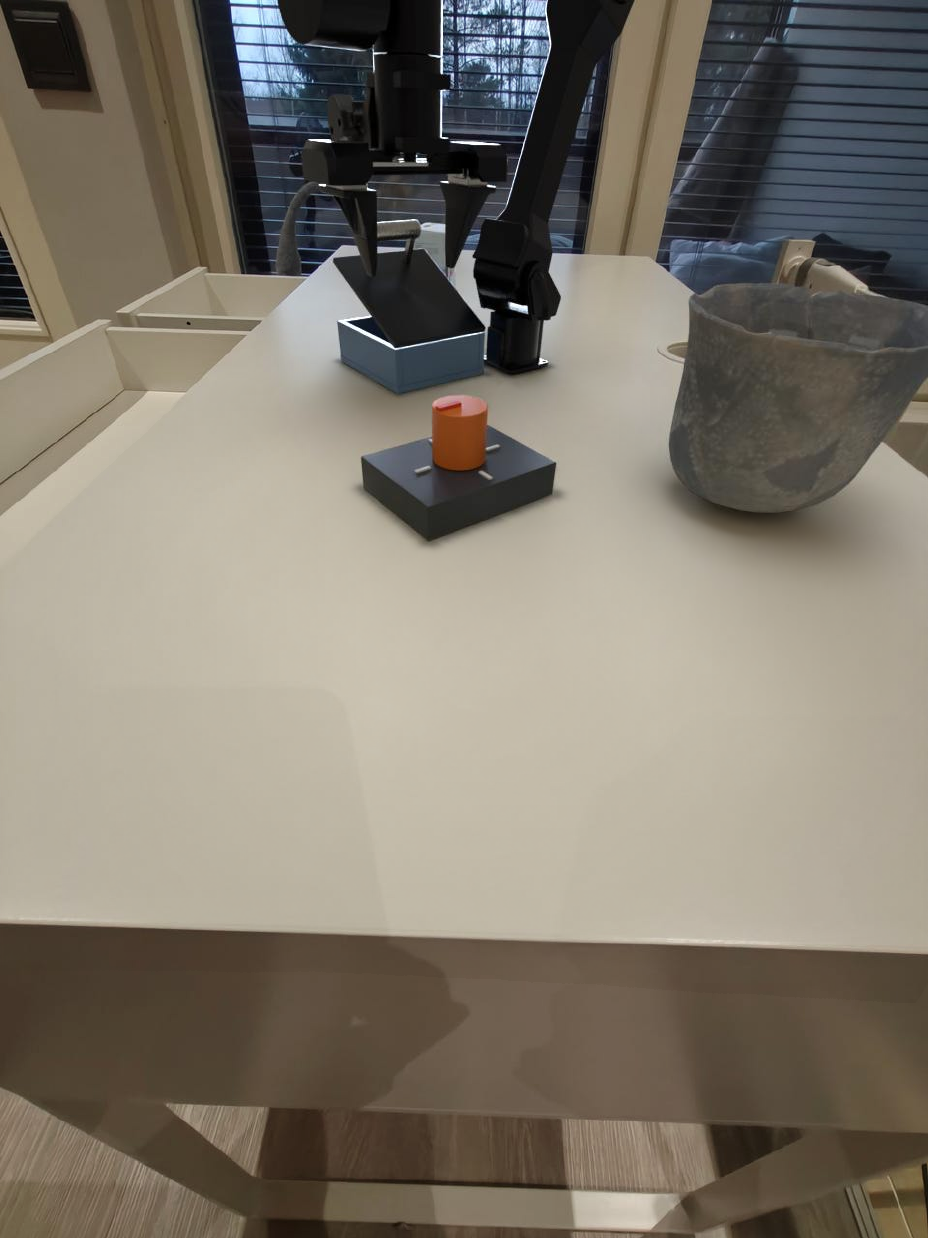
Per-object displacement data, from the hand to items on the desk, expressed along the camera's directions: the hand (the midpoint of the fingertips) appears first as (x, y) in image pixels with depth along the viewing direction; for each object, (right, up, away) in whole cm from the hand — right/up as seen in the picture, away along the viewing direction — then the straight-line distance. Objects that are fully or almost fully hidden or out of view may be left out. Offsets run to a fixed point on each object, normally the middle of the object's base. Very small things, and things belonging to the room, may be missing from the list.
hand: (412, 271), depth 59 cm
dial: (+5, -21, -10) cm, 24 cm away
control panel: (+5, -24, -8) cm, 25 cm away
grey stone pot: (+30, -24, -7) cm, 39 cm away
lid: (-1, +3, +10) cm, 11 cm away
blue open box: (-2, -3, +16) cm, 16 cm away
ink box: (+1, +14, +35) cm, 38 cm away
